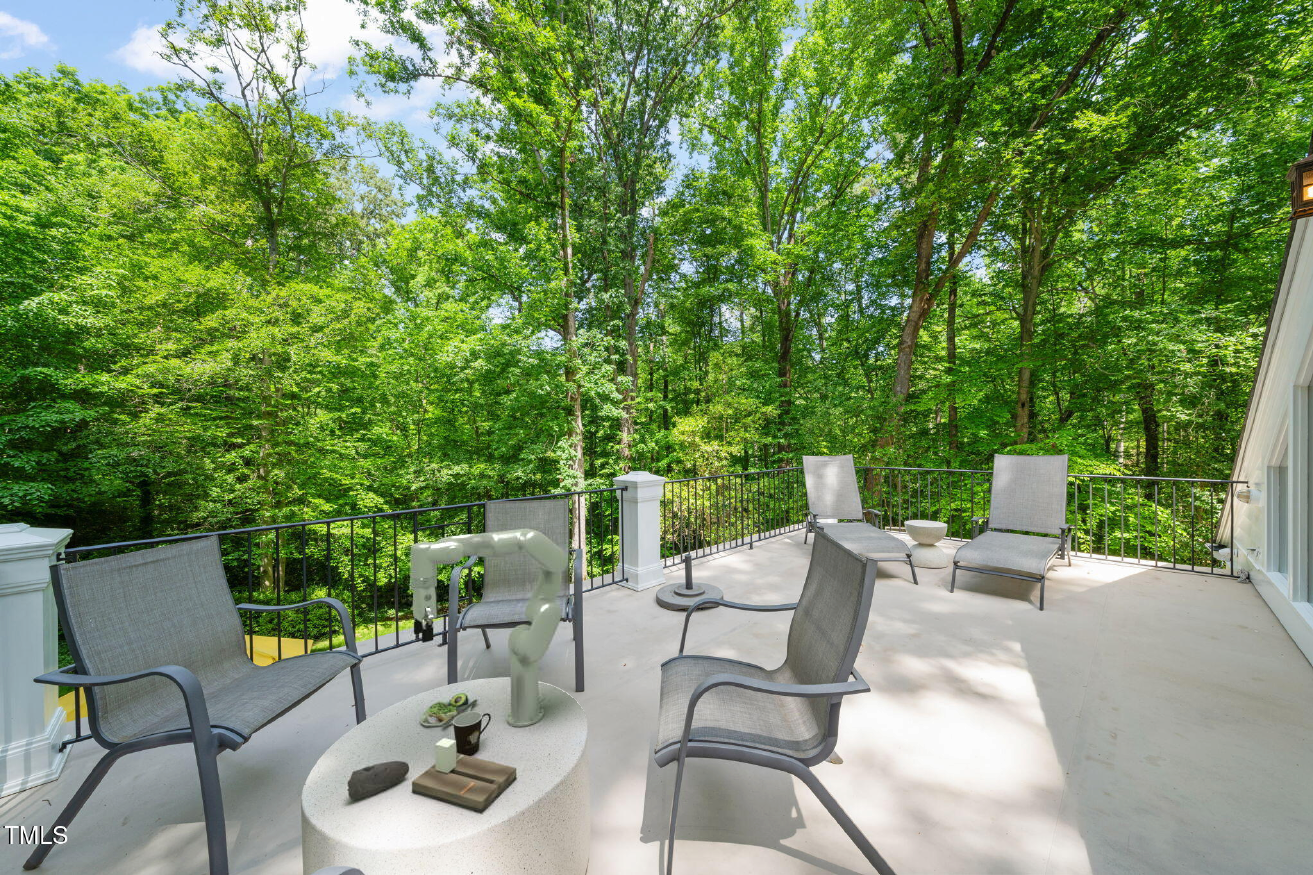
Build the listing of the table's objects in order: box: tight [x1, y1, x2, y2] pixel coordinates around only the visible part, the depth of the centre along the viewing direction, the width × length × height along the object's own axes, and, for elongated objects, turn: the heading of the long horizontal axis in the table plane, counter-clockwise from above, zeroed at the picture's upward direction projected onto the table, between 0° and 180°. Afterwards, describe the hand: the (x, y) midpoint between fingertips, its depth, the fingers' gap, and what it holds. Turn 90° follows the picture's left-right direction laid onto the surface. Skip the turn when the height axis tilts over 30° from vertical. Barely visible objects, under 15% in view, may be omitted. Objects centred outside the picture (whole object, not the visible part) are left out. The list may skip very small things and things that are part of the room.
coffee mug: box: [452, 710, 492, 757], centre depth 148 cm, size 12×9×10 cm
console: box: [411, 752, 517, 814], centre depth 131 cm, size 14×24×3 cm, turn 69°
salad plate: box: [419, 692, 478, 728], centre depth 168 cm, size 19×18×5 cm
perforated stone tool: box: [347, 760, 410, 801], centre depth 131 cm, size 15×5×7 cm, turn 125°
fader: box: [434, 737, 457, 773], centre depth 134 cm, size 3×4×9 cm
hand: (423, 637), depth 148 cm, fingers open, 9 cm apart
